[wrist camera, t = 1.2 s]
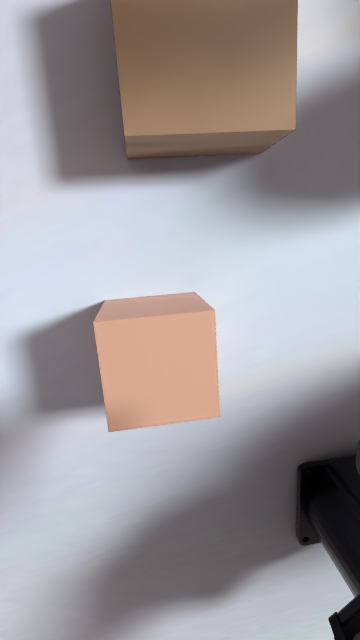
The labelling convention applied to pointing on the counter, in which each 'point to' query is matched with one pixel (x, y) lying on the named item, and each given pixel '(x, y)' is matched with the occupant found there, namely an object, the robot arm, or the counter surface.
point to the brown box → (205, 75)
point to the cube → (157, 360)
